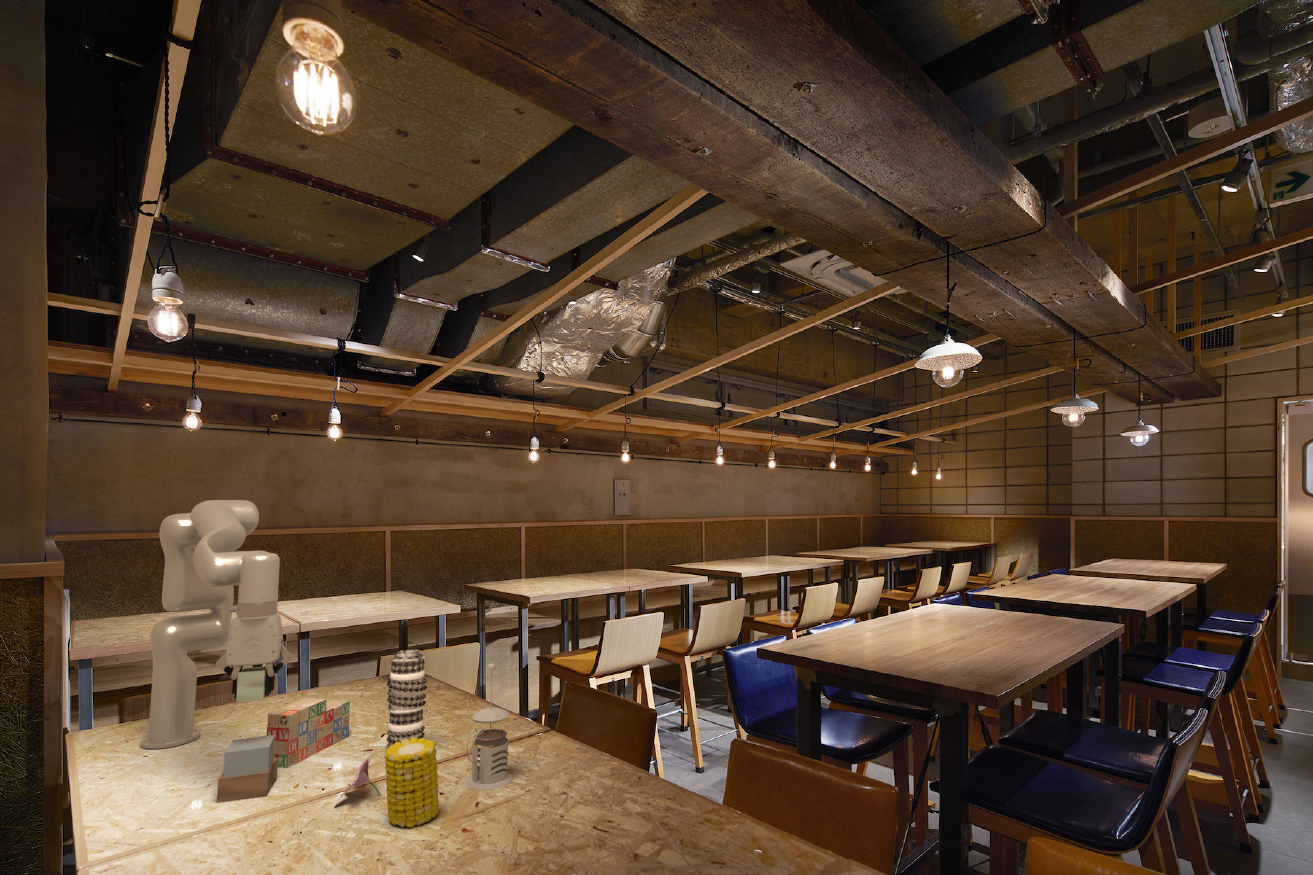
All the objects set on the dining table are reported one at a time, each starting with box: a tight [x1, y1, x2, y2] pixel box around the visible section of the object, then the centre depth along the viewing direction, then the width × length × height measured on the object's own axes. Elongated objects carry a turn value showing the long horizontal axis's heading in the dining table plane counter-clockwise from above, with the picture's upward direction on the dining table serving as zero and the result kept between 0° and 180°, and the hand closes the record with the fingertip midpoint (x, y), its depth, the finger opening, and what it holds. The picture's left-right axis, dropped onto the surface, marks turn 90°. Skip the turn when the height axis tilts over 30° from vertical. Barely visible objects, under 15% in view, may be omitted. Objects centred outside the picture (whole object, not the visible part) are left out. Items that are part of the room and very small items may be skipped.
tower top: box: [223, 735, 275, 778], centre depth 140 cm, size 8×8×5 cm
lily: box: [334, 746, 382, 807], centre depth 136 cm, size 12×12×10 cm
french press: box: [466, 663, 513, 791], centre depth 144 cm, size 10×12×25 cm
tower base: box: [216, 757, 279, 804], centre depth 140 cm, size 9×9×5 cm
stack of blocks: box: [266, 697, 351, 769], centre depth 163 cm, size 21×6×12 cm, turn 168°
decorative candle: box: [385, 649, 428, 749], centre depth 158 cm, size 9×9×25 cm
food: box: [384, 737, 440, 829], centre depth 127 cm, size 15×12×10 cm
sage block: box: [235, 665, 267, 703], centre depth 142 cm, size 5×5×6 cm
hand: (253, 694), depth 142 cm, fingers closed on sage block, 5 cm apart
